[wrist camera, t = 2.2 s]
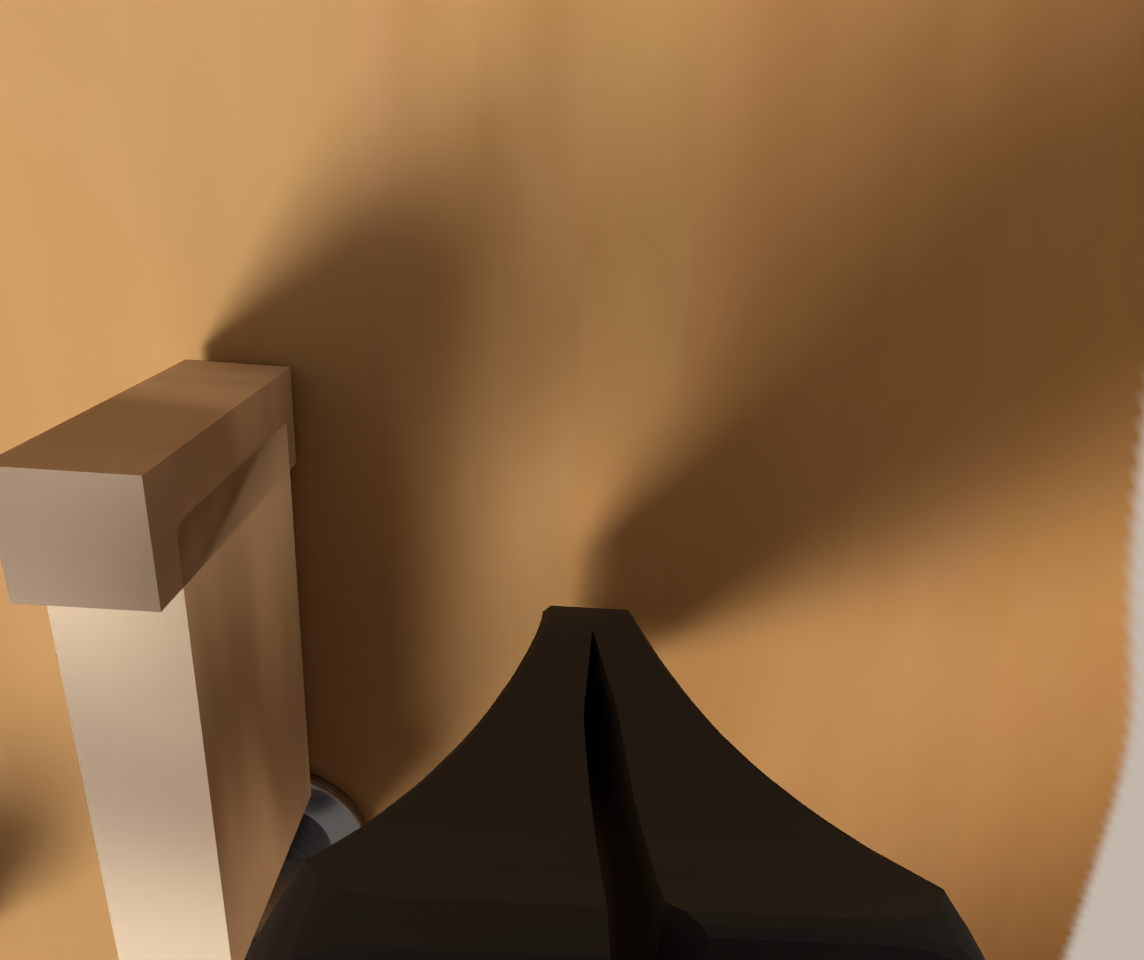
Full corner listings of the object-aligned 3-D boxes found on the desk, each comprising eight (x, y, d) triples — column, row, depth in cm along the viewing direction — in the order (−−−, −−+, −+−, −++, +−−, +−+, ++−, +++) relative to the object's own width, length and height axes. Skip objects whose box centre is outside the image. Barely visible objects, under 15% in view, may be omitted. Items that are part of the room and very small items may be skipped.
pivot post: (369, 898, 16) (298, 1164, 11) (207, 890, 16) (75, 1157, 11) (365, 772, 14) (284, 1019, 10) (189, 763, 14) (35, 1008, 10)
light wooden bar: (316, 782, 14) (219, 1021, 10) (232, 778, 14) (103, 1016, 10) (290, 366, 11) (142, 475, 7) (185, 359, 11) (-21, 465, 7)
